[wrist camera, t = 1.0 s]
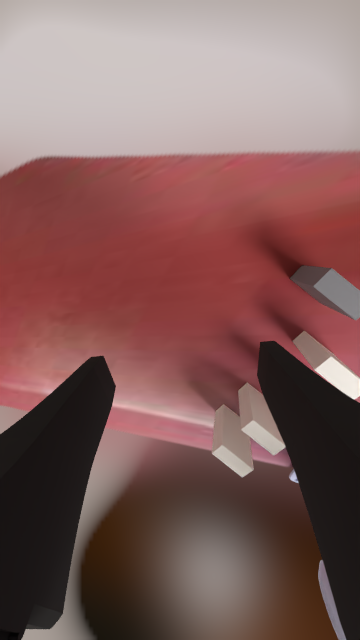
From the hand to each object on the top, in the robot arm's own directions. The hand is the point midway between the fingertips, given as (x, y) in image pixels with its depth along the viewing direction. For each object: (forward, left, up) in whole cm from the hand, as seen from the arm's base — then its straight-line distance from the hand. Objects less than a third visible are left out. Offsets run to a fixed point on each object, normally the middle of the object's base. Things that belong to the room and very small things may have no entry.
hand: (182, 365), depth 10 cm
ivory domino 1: (-8, +15, -17) cm, 25 cm away
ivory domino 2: (-10, +11, -17) cm, 23 cm away
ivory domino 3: (-13, +2, -17) cm, 22 cm away
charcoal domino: (-10, -5, -17) cm, 21 cm away
